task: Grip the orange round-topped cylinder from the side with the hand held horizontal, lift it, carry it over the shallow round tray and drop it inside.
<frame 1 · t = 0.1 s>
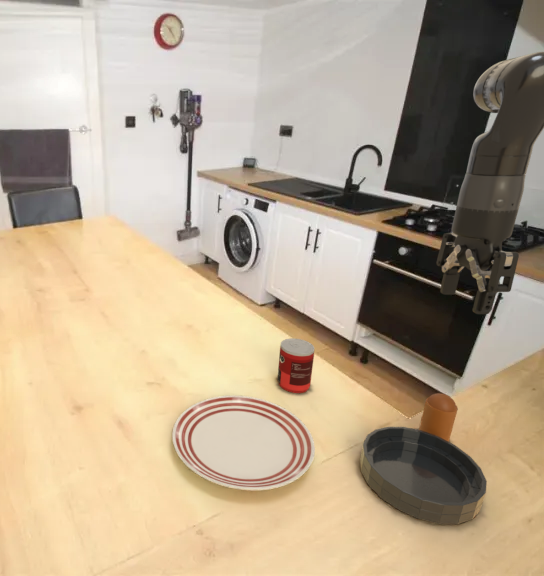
hand: (462, 303, 68), 32 cm above the table, tool pointing down, fingers open, 8 cm apart
canned food: (293, 385, 102), on the table
orange round-topped cylinder: (432, 438, 83), on the table
shallow round tray: (416, 480, 73), on the table
dinner plate: (240, 447, 82), on the table
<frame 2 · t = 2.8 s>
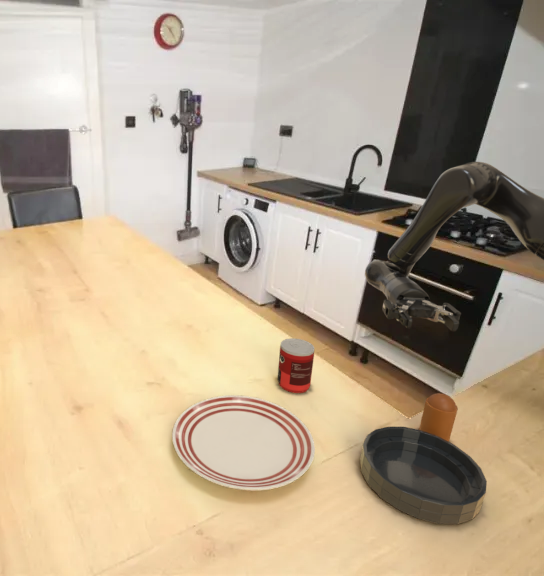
hand: (432, 325, 86), 20 cm above the table, tool horizontal, fingers open, 8 cm apart
nothing on the table moved.
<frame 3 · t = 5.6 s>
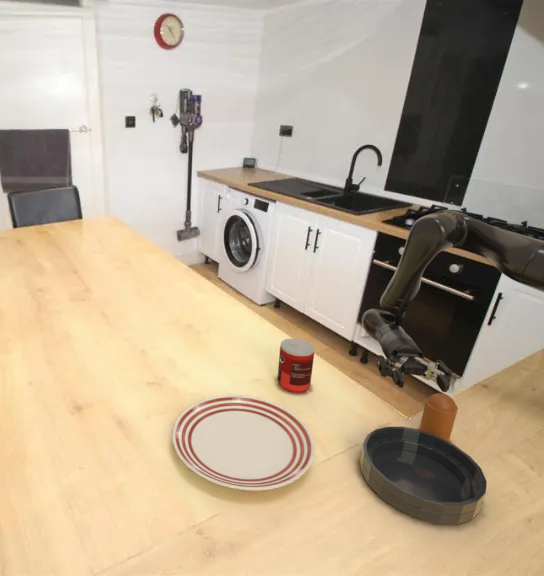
hand: (423, 386, 88), 7 cm above the table, tool horizontal, fingers open, 8 cm apart
nothing on the table moved.
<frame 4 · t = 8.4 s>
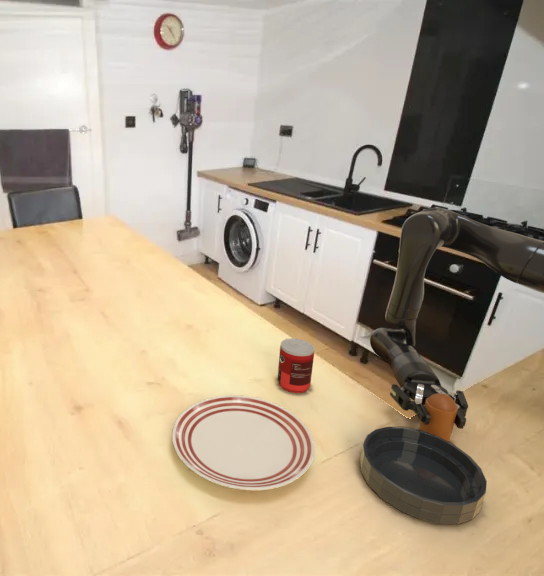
hand: (444, 422, 78), 6 cm above the table, tool horizontal, fingers closed on orange round-topped cylinder, 5 cm apart
orange round-topped cylinder: (432, 438, 83), on the table, touching gripper
everything else where it was.
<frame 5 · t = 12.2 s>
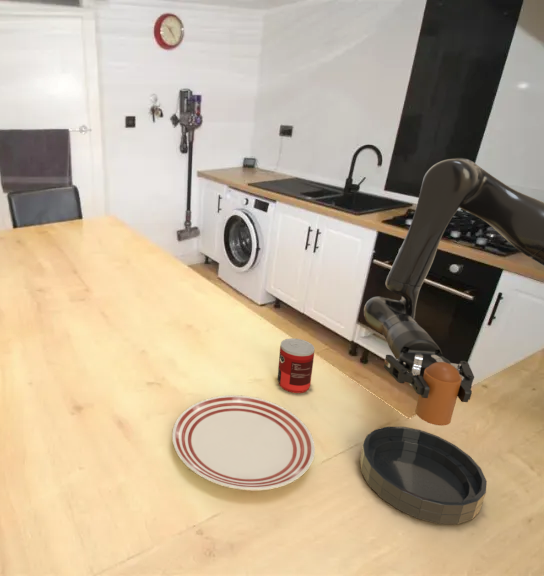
hand: (446, 395, 67), 18 cm above the table, tool horizontal, fingers closed on orange round-topped cylinder, 5 cm apart
orange round-topped cylinder: (432, 415, 71), point 12 cm above the table, touching gripper
everything else where it was.
when the fingers open (7 cm above the table, at t = 16.1 s): orange round-topped cylinder stays where it is, resting on shallow round tray.
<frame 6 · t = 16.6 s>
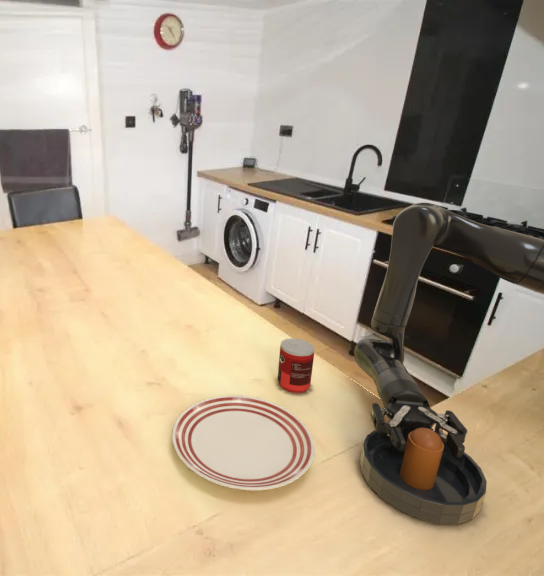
hand: (430, 450, 68), 9 cm above the table, tool horizontal, fingers open, 8 cm apart
orange round-topped cylinder: (416, 478, 73), resting on shallow round tray
everything else where it was.
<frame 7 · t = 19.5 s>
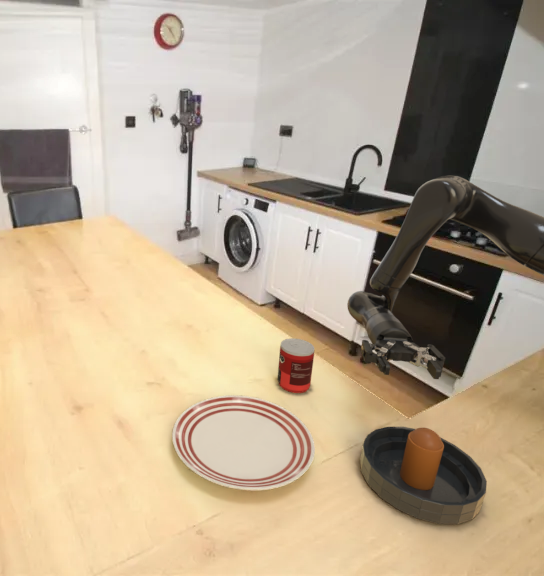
hand: (412, 372, 77), 16 cm above the table, tool horizontal, fingers open, 8 cm apart
nothing on the table moved.
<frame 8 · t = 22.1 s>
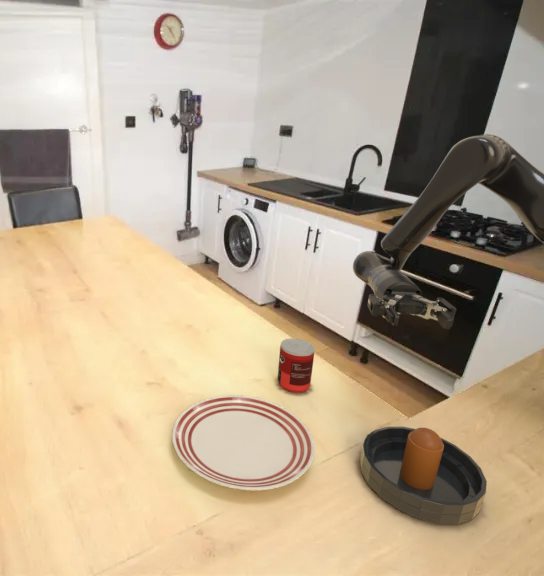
hand: (422, 322, 74), 26 cm above the table, tool horizontal, fingers open, 8 cm apart
nothing on the table moved.
at the end: orange round-topped cylinder inside the target area in the shallow round tray (0.1 cm from its centre), point 0.5 cm above the shallow round tray's base; the gripper is holding nothing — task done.
